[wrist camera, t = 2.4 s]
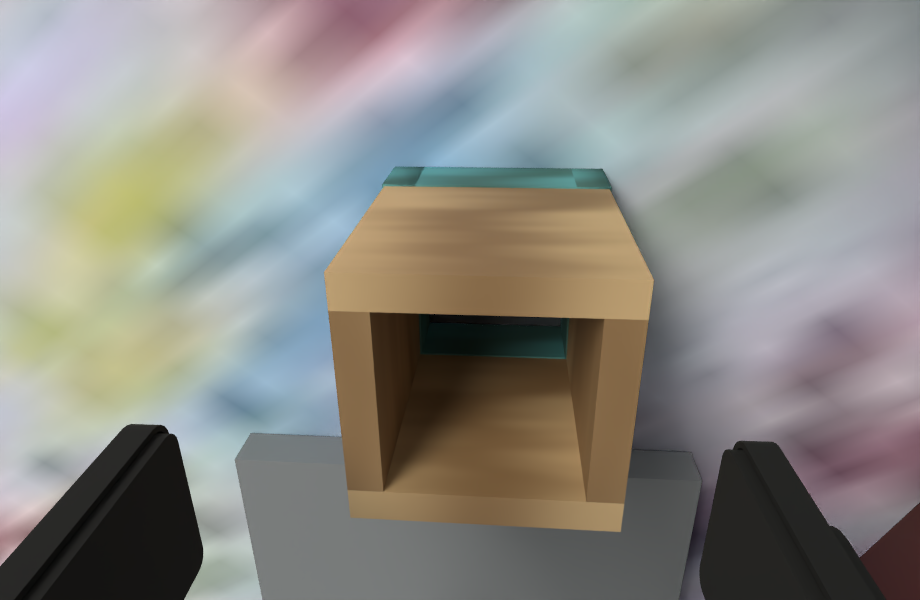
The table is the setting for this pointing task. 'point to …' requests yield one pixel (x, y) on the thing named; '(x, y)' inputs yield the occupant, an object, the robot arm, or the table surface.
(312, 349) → the table surface
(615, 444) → the wooden sleeve
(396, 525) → the pin board
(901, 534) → the bucket
